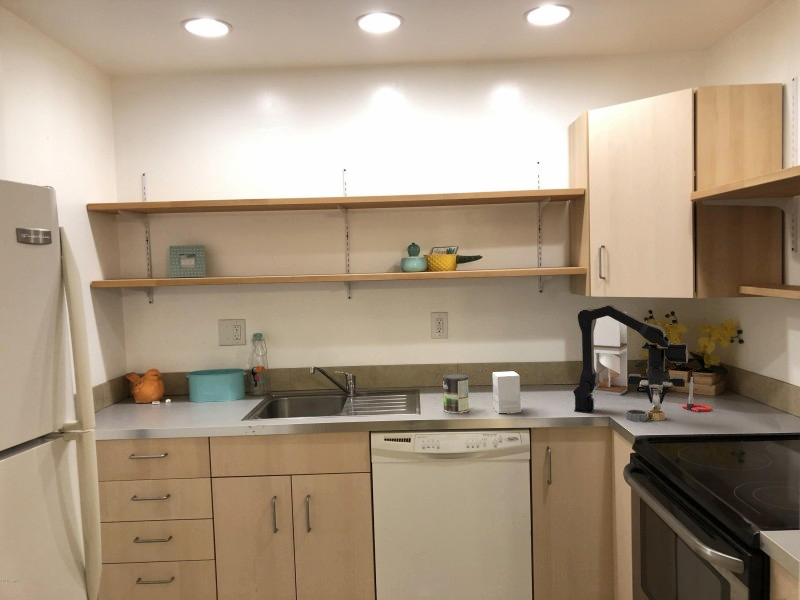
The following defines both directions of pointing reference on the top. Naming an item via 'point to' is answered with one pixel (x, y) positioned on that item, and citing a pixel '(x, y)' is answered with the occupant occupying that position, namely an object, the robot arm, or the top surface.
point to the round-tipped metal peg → (656, 399)
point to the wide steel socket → (636, 415)
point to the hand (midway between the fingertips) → (656, 403)
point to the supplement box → (506, 392)
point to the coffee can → (455, 393)
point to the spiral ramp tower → (610, 355)
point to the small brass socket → (656, 414)
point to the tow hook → (690, 401)
